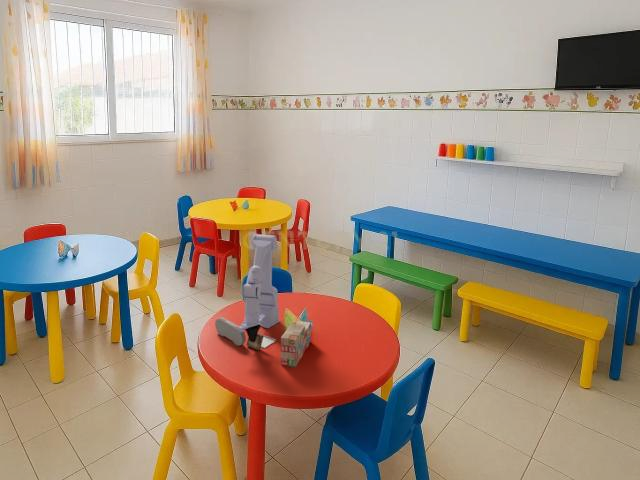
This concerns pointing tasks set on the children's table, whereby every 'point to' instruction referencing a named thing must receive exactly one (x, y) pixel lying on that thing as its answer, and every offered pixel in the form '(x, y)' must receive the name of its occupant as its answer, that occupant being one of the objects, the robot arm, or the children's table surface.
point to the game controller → (230, 331)
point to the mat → (267, 341)
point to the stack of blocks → (295, 343)
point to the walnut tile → (256, 342)
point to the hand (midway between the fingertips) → (252, 341)
